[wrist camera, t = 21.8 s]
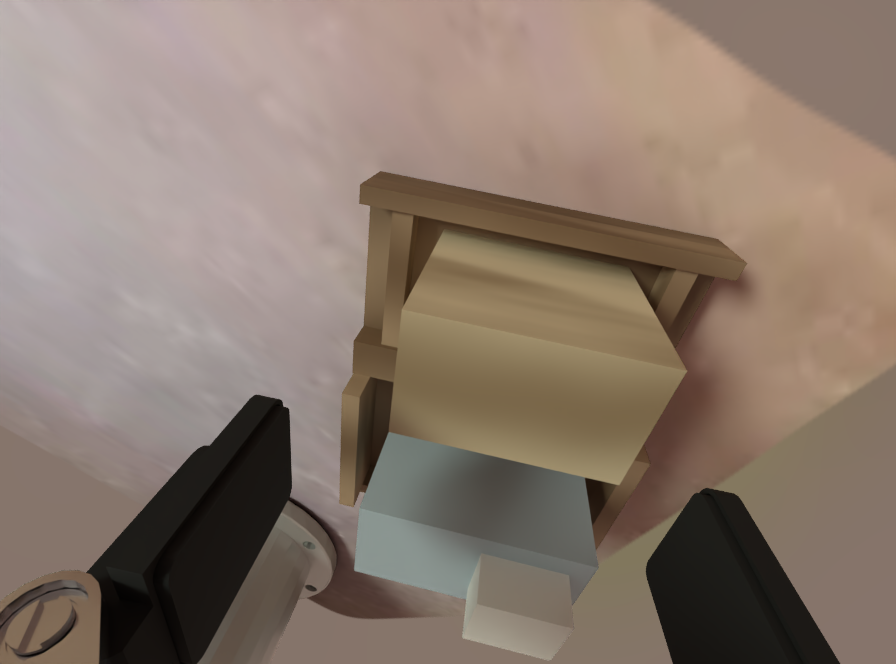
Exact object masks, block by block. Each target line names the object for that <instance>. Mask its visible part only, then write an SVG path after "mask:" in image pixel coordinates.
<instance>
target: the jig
mask: <svg viewBox="0 0 896 664" xmlns="http://www.w3.org/2000/svg"><path fill="white" fill-rule="evenodd" d="M359 204H364V205H369V206H370V223H369V241H368V259H367V277H366V296H365V314H364V326H363V328H362V329H361V331H360V332H359V334H358V336H357V337H356V339H355V340H354V350H353V373H354V374H353V375H352V377H351V379H350V381H349V382H348V384H347V386H346V387H345V389H344V391H343V393H342V416H341V458H340V500H339V504H343V505H347V506H351V507H354V505H355V502H356V500H357V497H358V495H359V492H364V493H366V490H367V488H368V485H369V482H370V480H371V477H372V474H373V472H374V469H375V467H376V464H377V461H378V459H379V456H380V454H381V451H382V448H383V446H384V443H385V440H386V438H387V435H388V433H389V422H390V413H391V404H392V395H393V386H394V377H395V368H396V359H397V349H398V340H399V331H400V322H401V313H402V308H403V306H404V304H405V303H406V301H407V299H408V297H409V295H410V293H411V291H412V289H413V287H414V286H415V284H416V282H417V280H418V278H419V276H420V274H421V272H422V270H423V269H424V267H425V265H426V263H427V261H428V259H429V257H430V255H431V253H432V252H433V250H434V248H435V246H436V244H437V242H438V240H439V238H440V236H441V235H442V233H443V231H444V229H445V230H450V231H455V232H460V233H465V234H470V235H475V236H480V237H484V238H489V239H494V240H499V241H504V242H509V243H514V244H519V245H523V246H528V247H533V248H538V249H543V250H548V251H553V252H558V253H562V254H567V255H572V256H577V257H582V258H587V259H592V260H596V261H601V262H606V263H611V264H616V265H621V266H626V267H629V268H630V270H631V272H632V274H633V275H634V277H635V279H636V281H637V282H638V284H639V286H640V288H641V290H642V291H643V293H644V295H645V297H646V299H647V300H648V302H649V304H650V306H651V307H652V309H653V311H654V313H655V315H656V316H657V318H658V320H659V322H660V323H661V325H662V327H663V329H664V331H665V332H666V334H667V336H668V338H669V339H670V341H671V343H672V345H673V347H674V348H676V346H677V344H678V342H679V341H680V339H681V337H682V335H683V333H684V332H685V330H686V328H687V326H688V324H689V323H690V321H691V319H692V317H693V315H694V314H695V312H696V310H697V308H698V306H699V305H700V303H701V301H702V299H703V297H704V296H705V294H706V292H707V290H708V288H709V287H710V285H711V283H712V281H713V279H714V278H715V277H719V278H724V279H728V280H733V281H737V280H738V278H739V276H740V274H741V273H742V271H743V269H744V268H745V266H746V264H747V263H746V262H745V261H744V260H743V259H741V258H740V257H739V256H738V255H737V254H735V253H734V252H733V251H732V250H730V249H729V248H728V247H727V246H726V245H724V244H723V243H722V242H721V241H719V240H718V239H714V238H709V237H704V236H699V235H694V234H689V233H684V232H679V231H674V230H669V229H664V228H660V227H655V226H650V225H645V224H640V223H635V222H630V221H625V220H620V219H615V218H610V217H605V216H600V215H595V214H590V213H585V212H580V211H575V210H570V209H565V208H560V207H555V206H550V205H545V204H540V203H535V202H530V201H525V200H520V199H515V198H510V197H506V196H501V195H496V194H491V193H486V192H481V191H476V190H471V189H466V188H461V187H456V186H451V185H446V184H441V183H436V182H431V181H426V180H421V179H416V178H411V177H406V176H401V175H396V174H391V173H386V172H381V171H380V172H379V173H377V174H376V175H374V176H373V177H371V178H370V179H368V180H366V181H365V182H363V183H362V184H360V201H359ZM649 466H650V461H649V458H648V455H647V452H646V449H645V446H644V445H643V446H642V448H641V450H640V451H639V453H638V455H637V456H636V458H635V460H634V461H633V463H632V465H631V466H630V468H629V470H628V471H627V473H626V475H625V476H624V478H623V480H622V481H621V483H620V485H616V484H611V483H607V482H603V481H598V480H594V479H590V478H585V483H586V489H587V496H588V502H589V509H590V515H591V522H592V528H593V535H594V541H595V548H596V549H597V548H598V546H599V545H600V543H601V541H602V540H603V538H604V537H605V535H606V534H607V532H608V530H609V529H610V527H611V526H612V524H613V523H614V521H615V519H616V518H617V516H618V515H619V513H620V512H621V510H622V508H623V507H624V505H625V504H626V502H627V501H628V499H629V497H630V496H631V494H632V493H633V491H634V489H635V488H636V486H637V485H638V483H639V482H640V480H641V478H642V477H643V475H644V474H645V472H646V471H647V469H648V467H649Z"/></svg>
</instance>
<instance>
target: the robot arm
mask: <svg viewBox="0 0 896 664" xmlns="http://www.w3.org/2000/svg"><path fill="white" fill-rule="evenodd" d="M291 489H292V474H291V445H290V415H289V409H288V408H286V407H283V402H282V401H281V400H280V399H275V398H270V397H265V396H261V395H254V396H253V397H252V398H250V400H249V401H248V402H247V403H246V404H245V405H244V407H243V408H242V409H241V410H240V411H239V412H238V414H237V415H236V416H235V417H234V418H233V419H232V420H231V422H230V423H229V424H228V425H227V426H226V427H225V429H224V430H223V431H222V432H221V433H220V434H219V436H218V437H217V438H216V439H215V440H214V441H213V443H212V444H211V445H210V446H202V447H200V448H198V449H197V450H196V451H195V452H194V453H193V454H192V455H191V456H190V457H189V458H188V459H187V460H186V461H185V463H184V464H183V465H182V466H181V467H180V468H179V469H178V470H177V472H176V473H175V474H174V475H173V476H172V477H171V478H170V479H169V480H168V482H167V483H166V484H165V485H164V486H163V487H162V488H161V489H160V491H159V492H158V493H157V494H156V495H155V496H154V497H153V498H152V500H151V501H150V502H149V503H148V504H147V505H146V506H145V507H144V509H143V510H142V511H141V512H140V513H139V514H138V515H137V516H136V518H135V519H134V520H133V521H132V522H131V523H130V524H129V525H128V527H127V528H126V529H125V530H124V531H123V532H122V533H121V534H120V536H119V537H118V538H117V539H116V540H115V541H114V542H113V543H112V545H111V546H110V547H109V548H108V549H107V550H106V551H105V552H104V553H103V555H102V556H101V557H100V558H99V559H98V560H97V561H96V562H95V563H94V565H93V566H92V567H91V568H90V569H89V570H88V571H87V572H86V573H85V572H82V571H79V570H69V571H59V572H55V573H52V574H48V575H44V576H42V577H40V578H37V579H35V580H33V581H31V582H28V583H26V584H24V585H23V586H21V587H19V588H18V589H17V590H15V591H13V592H12V593H10V594H9V595H7V596H6V597H4V599H2V600H1V601H0V664H270V663H271V661H272V659H273V656H274V654H275V652H276V649H277V647H278V645H279V642H280V640H281V638H282V636H283V633H284V631H285V629H286V626H287V624H288V622H289V620H290V617H291V615H292V612H293V610H294V608H295V605H296V603H297V601H298V599H303V598H308V597H311V596H313V595H316V594H318V593H320V592H321V591H322V590H324V589H325V588H326V587H327V586H328V584H329V583H330V581H331V579H332V576H333V573H334V570H335V568H336V565H337V555H336V552H335V548H334V545H333V543H332V541H331V540H330V538H329V536H328V535H327V533H326V532H325V531H324V529H323V528H322V527H321V526H320V525H319V524H318V522H317V521H315V520H314V519H313V518H312V517H311V516H310V515H309V514H307V513H306V512H305V511H304V510H302V509H301V508H299V507H298V506H296V505H295V504H293V503H292V502H290V501H289V500H288V499H289V496H290V493H291ZM646 575H647V580H648V584H649V587H650V590H651V593H652V596H653V600H654V603H655V606H656V610H657V613H658V616H659V619H660V623H661V626H662V629H663V632H664V636H665V639H666V642H667V646H668V649H669V652H670V656H671V658H672V662H673V664H840V663H839V661H838V659H837V658H836V656H835V654H834V653H833V651H832V649H831V648H830V646H829V645H828V643H827V641H826V640H825V638H824V636H823V635H822V633H821V631H820V630H819V628H818V626H817V625H816V623H815V621H814V620H813V618H812V616H811V615H810V613H809V612H808V610H807V608H806V606H805V605H804V603H803V602H802V600H801V598H800V597H799V595H798V593H797V592H796V590H795V588H794V587H793V585H792V583H791V582H790V580H789V578H788V577H787V575H786V573H785V572H784V570H783V568H782V567H781V566H780V564H779V562H778V560H777V559H776V557H775V555H774V554H773V552H772V551H771V549H770V547H769V545H768V544H767V542H766V540H765V539H764V537H763V535H762V534H761V532H760V531H759V529H758V527H757V526H756V524H755V522H754V521H753V519H752V518H751V516H750V514H749V512H748V511H747V509H746V507H745V506H744V504H743V503H742V501H741V500H740V498H739V497H738V496H737V495H735V494H733V493H728V492H724V491H719V490H714V489H709V488H705V489H703V490H702V491H701V492H700V493H696V494H694V495H693V496H692V497H691V499H690V500H689V502H688V503H687V505H686V506H685V508H684V509H683V511H682V512H681V513H680V515H679V516H678V518H677V519H676V521H675V522H674V524H673V525H672V527H671V528H670V530H669V531H668V532H667V534H666V536H665V537H664V538H663V540H662V541H661V543H660V544H659V546H658V547H657V549H656V550H655V552H654V553H653V554H652V556H651V558H650V559H649V560H648V562H647V566H646Z"/></svg>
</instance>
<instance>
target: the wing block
mask: <svg viewBox="0 0 896 664" xmlns="http://www.w3.org/2000/svg"><path fill="white" fill-rule="evenodd" d="M686 372H687V370H686V368H685V366H684V364H683V363H682V361H681V359H680V357H679V355H678V354H677V352H676V350H675V348H674V347H673V345H672V343H671V341H670V339H669V338H668V336H667V334H666V332H665V331H664V329H663V327H662V325H661V323H660V322H659V320H658V318H657V316H656V315H655V313H654V311H653V309H652V307H651V306H650V304H649V302H648V300H647V299H646V297H645V295H644V293H643V291H642V290H641V288H640V286H639V284H638V282H637V281H636V279H635V277H634V275H633V274H632V272H631V270H630V268H629V267H626V266H621V265H616V264H611V263H606V262H601V261H596V260H592V259H587V258H582V257H577V256H572V255H567V254H562V253H558V252H553V251H548V250H543V249H538V248H533V247H528V246H523V245H519V244H514V243H509V242H504V241H499V240H494V239H489V238H484V237H480V236H475V235H470V234H465V233H460V232H455V231H450V230H445V229H444V231H443V233H442V235H441V236H440V238H439V240H438V242H437V244H436V246H435V248H434V250H433V252H432V253H431V255H430V257H429V259H428V261H427V263H426V265H425V267H424V269H423V270H422V272H421V274H420V276H419V278H418V280H417V282H416V284H415V286H414V287H413V289H412V291H411V293H410V295H409V297H408V299H407V301H406V303H405V304H404V306H403V308H402V313H401V322H400V331H399V340H398V349H397V359H396V368H395V377H394V386H393V395H392V404H391V413H390V422H389V432H391V433H395V434H400V435H404V436H408V437H413V438H417V439H421V440H425V441H430V442H434V443H438V444H443V445H447V446H451V447H456V448H460V449H464V450H469V451H473V452H477V453H482V454H486V455H490V456H495V457H499V458H503V459H508V460H512V461H516V462H521V463H525V464H529V465H534V466H538V467H542V468H546V469H551V470H555V471H559V472H564V473H568V474H572V475H577V476H581V477H585V478H590V479H594V480H598V481H603V482H607V483H611V484H616V485H620V483H621V481H622V480H623V478H624V476H625V475H626V473H627V471H628V470H629V468H630V466H631V465H632V463H633V461H634V460H635V458H636V456H637V455H638V453H639V451H640V450H641V448H642V446H643V445H644V443H645V441H646V440H647V438H648V436H649V434H650V433H651V431H652V429H653V428H654V426H655V424H656V423H657V421H658V419H659V418H660V416H661V414H662V413H663V411H664V409H665V408H666V406H667V404H668V403H669V401H670V399H671V398H672V396H673V394H674V393H675V391H676V389H677V387H678V386H679V384H680V382H681V381H682V379H683V377H684V376H685V374H686Z"/></svg>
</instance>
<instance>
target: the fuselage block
mask: <svg viewBox="0 0 896 664" xmlns="http://www.w3.org/2000/svg"><path fill="white" fill-rule="evenodd" d="M597 570H598V561H597V554H596V548H595V541H594V535H593V528H592V522H591V515H590V509H589V502H588V496H587V489H586V483H585V477H581V476H577V475H572V474H568V473H564V472H559V471H555V470H551V469H546V468H542V467H538V466H534V465H529V464H525V463H521V462H516V461H512V460H508V459H503V458H499V457H495V456H490V455H486V454H482V453H477V452H473V451H469V450H464V449H460V448H456V447H451V446H447V445H443V444H438V443H434V442H430V441H425V440H421V439H417V438H413V437H408V436H404V435H400V434H395V433H391V432H389V433H388V435H387V438H386V440H385V443H384V446H383V448H382V451H381V454H380V456H379V459H378V461H377V464H376V467H375V469H374V472H373V474H372V477H371V480H370V482H369V485H368V488H367V490H366V493H365V495H364V498H363V501H362V503H361V506H360V509H359V521H358V532H357V544H356V555H355V566H354V571H357V572H361V573H365V574H369V575H373V576H376V577H380V578H384V579H388V580H392V581H396V582H400V583H404V584H408V585H412V586H415V587H419V588H423V589H427V590H431V591H435V592H439V593H443V594H447V595H451V596H454V597H458V598H462V599H466V609H465V618H464V627H463V636H462V638H464V639H468V640H472V641H476V642H480V643H484V644H487V645H491V646H495V647H499V648H503V649H507V650H510V651H514V652H518V653H522V654H526V655H530V656H534V657H537V658H541V659H545V660H549V661H551V659H552V658H553V657H554V655H555V654H556V653H557V651H558V650H559V648H560V647H561V646H562V644H563V643H564V641H565V640H566V639H567V638H568V636H569V635H570V634H571V633H572V631H573V630H574V623H573V612H572V605H573V604H574V603H575V601H576V600H577V598H578V597H579V595H580V594H581V592H582V591H583V590H584V588H585V587H586V585H587V584H588V582H589V581H590V579H591V578H592V577H593V575H594V574H595V572H596V571H597Z"/></svg>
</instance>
